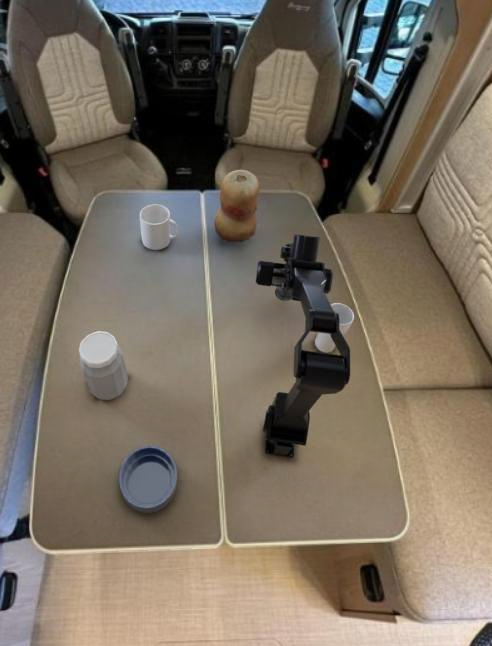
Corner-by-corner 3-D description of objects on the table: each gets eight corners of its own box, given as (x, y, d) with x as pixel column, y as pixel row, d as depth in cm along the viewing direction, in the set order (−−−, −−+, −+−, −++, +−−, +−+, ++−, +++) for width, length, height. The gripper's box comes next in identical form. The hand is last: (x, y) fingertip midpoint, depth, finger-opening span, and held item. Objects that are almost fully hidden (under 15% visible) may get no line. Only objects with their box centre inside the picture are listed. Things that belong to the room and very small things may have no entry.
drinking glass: (308, 349, 112) (323, 318, 101) (315, 330, 116) (330, 298, 105) (332, 360, 110) (350, 329, 99) (339, 340, 114) (357, 309, 103)
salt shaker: (294, 303, 115) (303, 275, 106) (273, 299, 116) (280, 271, 107) (294, 287, 119) (304, 259, 110) (274, 284, 120) (282, 255, 111)
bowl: (172, 518, 86) (171, 512, 81) (115, 508, 86) (112, 502, 82) (181, 458, 93) (181, 450, 89) (129, 449, 94) (126, 441, 90)
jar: (81, 380, 105) (67, 344, 91) (114, 359, 109) (105, 320, 95) (102, 410, 100) (90, 375, 86) (135, 386, 104) (129, 349, 90)
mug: (142, 231, 140) (139, 204, 131) (177, 230, 141) (177, 203, 132) (142, 251, 134) (139, 225, 125) (179, 250, 135) (179, 223, 126)
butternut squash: (208, 245, 137) (213, 184, 118) (218, 219, 145) (224, 158, 126) (249, 255, 134) (261, 194, 115) (257, 228, 143) (269, 167, 124)
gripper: (343, 250, 97) (327, 249, 112) (263, 240, 98) (258, 241, 114) (336, 296, 98) (321, 290, 113) (257, 286, 99) (253, 281, 114)
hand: (288, 274), depth 113 cm, fingers closed on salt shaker, 3 cm apart
